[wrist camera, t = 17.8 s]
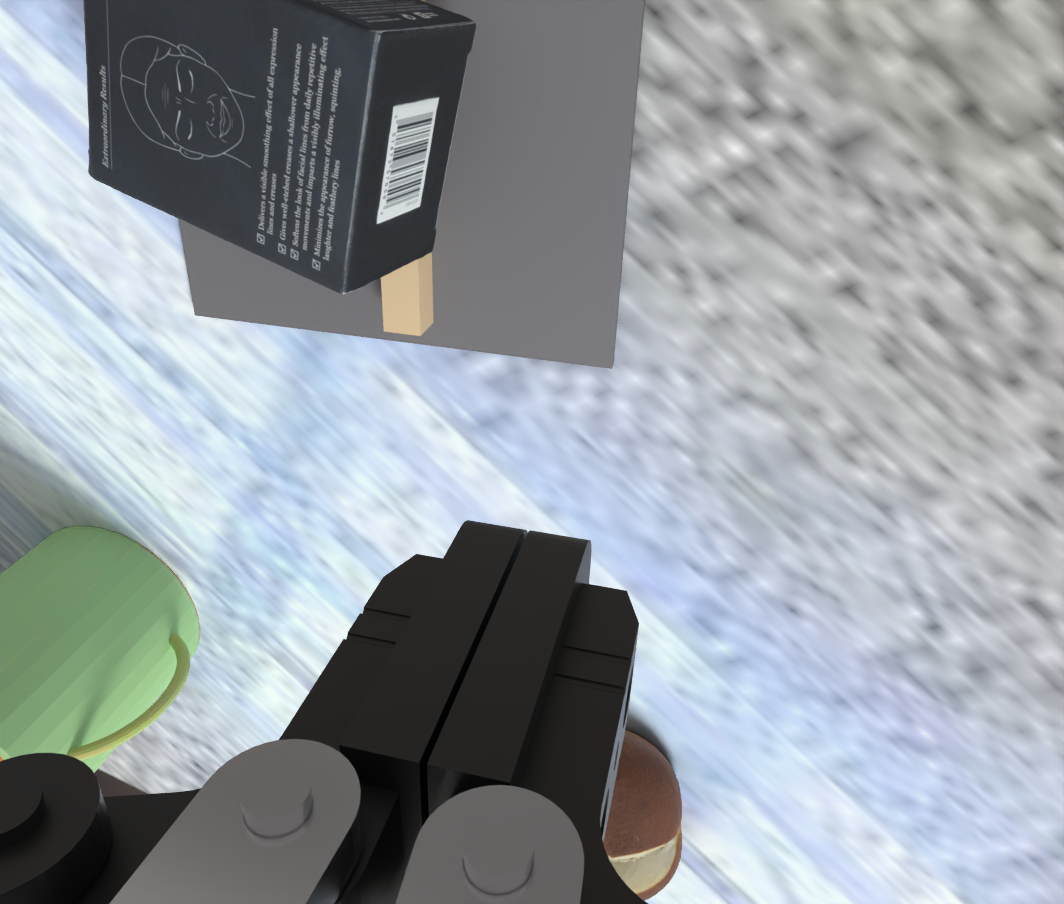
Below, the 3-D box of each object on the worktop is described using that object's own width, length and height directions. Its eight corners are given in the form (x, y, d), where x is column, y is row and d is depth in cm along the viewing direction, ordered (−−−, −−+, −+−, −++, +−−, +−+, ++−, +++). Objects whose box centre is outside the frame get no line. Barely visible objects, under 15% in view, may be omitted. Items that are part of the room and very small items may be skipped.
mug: (68, 665, 51) (-106, 837, 41) (10, 517, 46) (-205, 671, 36) (258, 694, 49) (122, 887, 38) (218, 540, 44) (48, 714, 33)
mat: (655, -126, 26) (648, -132, 24) (613, 364, 34) (605, 384, 32) (126, -135, 29) (89, -142, 28) (200, 312, 37) (174, 327, 36)
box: (484, 21, 27) (211, -82, 29) (382, 32, 22) (67, -92, 24) (437, 255, 31) (203, 149, 33) (344, 303, 26) (81, 177, 29)
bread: (690, 724, 42) (681, 808, 38) (681, 874, 48) (672, 962, 43) (472, 692, 45) (441, 768, 40) (487, 838, 50) (461, 919, 46)
